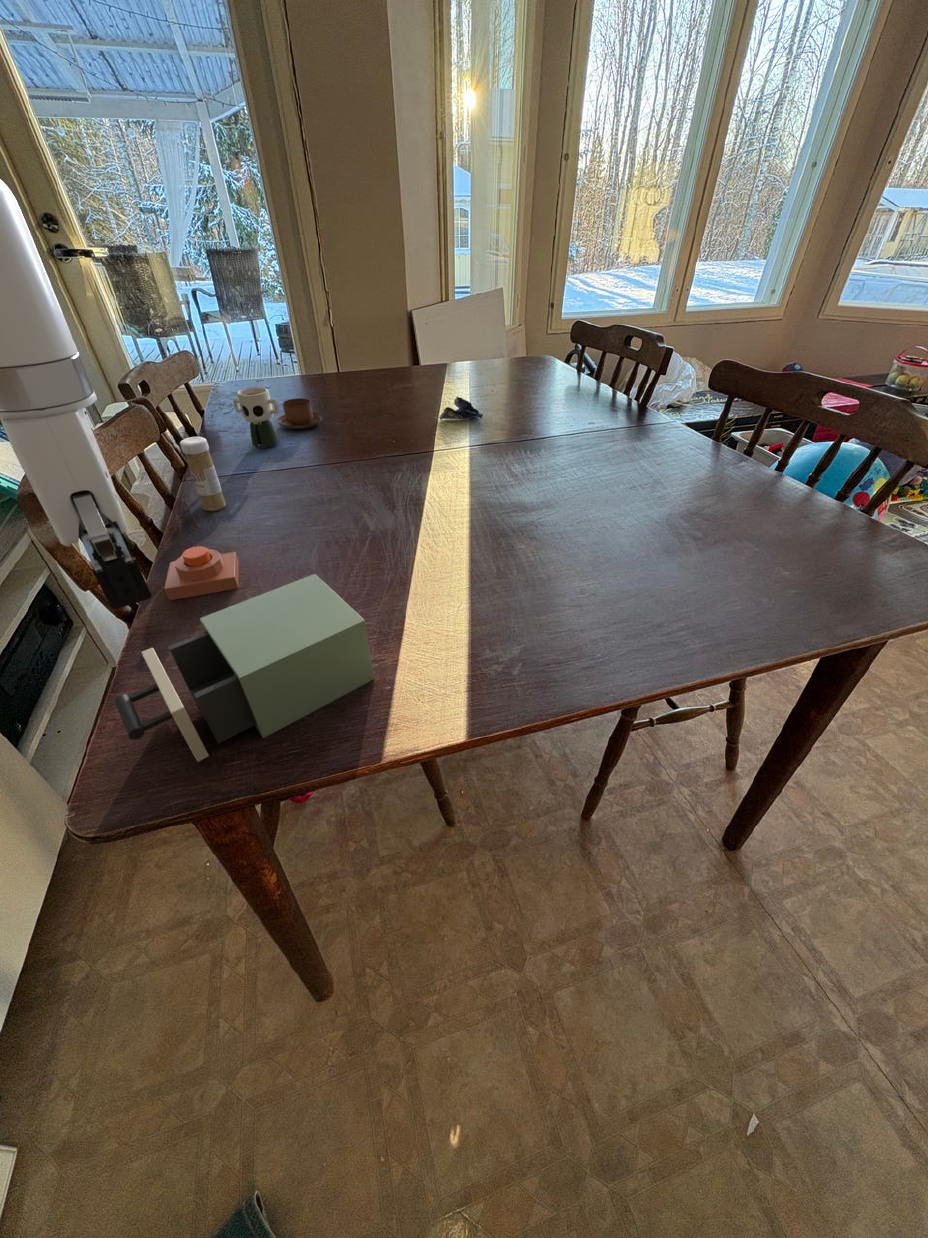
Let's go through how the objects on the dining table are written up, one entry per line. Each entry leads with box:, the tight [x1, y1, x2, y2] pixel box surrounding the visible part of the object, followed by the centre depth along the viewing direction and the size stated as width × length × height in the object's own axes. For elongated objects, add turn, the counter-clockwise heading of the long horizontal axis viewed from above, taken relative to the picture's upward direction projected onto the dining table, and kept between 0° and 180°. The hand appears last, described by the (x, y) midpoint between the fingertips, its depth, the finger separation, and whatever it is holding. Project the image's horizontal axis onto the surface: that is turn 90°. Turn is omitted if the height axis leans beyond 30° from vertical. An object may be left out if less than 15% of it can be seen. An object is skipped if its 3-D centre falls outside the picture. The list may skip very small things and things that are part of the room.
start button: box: [181, 545, 211, 567], centre depth 79 cm, size 4×4×2 cm
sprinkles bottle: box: [179, 436, 227, 512], centre depth 98 cm, size 5×5×13 cm
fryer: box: [199, 573, 375, 739], centre depth 62 cm, size 15×13×10 cm
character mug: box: [232, 386, 280, 448], centre depth 125 cm, size 11×7×13 cm, turn 85°
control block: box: [163, 548, 240, 601], centre depth 81 cm, size 10×8×4 cm
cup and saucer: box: [276, 397, 323, 430], centre depth 139 cm, size 12×12×6 cm
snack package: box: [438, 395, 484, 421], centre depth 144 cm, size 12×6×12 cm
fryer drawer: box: [114, 631, 256, 763], centre depth 57 cm, size 18×11×8 cm, turn 130°
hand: (122, 578), depth 48 cm, fingers open, 9 cm apart
